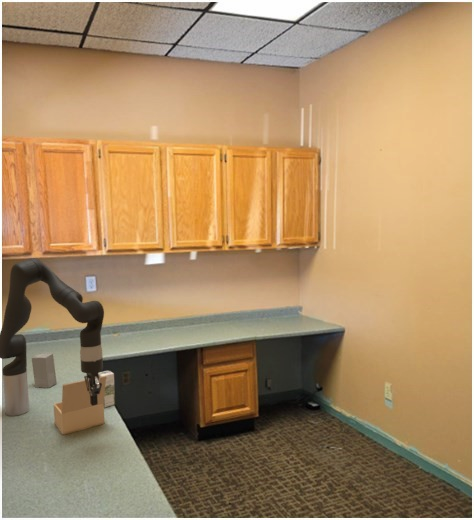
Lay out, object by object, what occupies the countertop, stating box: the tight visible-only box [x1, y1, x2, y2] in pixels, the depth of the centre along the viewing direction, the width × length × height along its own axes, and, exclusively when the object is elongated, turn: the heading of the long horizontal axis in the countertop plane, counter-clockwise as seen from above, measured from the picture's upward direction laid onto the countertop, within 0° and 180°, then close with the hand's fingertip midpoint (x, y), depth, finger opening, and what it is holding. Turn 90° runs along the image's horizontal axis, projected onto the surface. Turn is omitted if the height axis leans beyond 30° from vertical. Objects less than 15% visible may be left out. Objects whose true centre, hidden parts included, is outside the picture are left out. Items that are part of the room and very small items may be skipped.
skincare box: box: [31, 353, 57, 389], centre depth 228 cm, size 8×7×16 cm
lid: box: [61, 376, 106, 414], centre depth 175 cm, size 13×16×1 cm
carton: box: [53, 401, 106, 435], centre depth 183 cm, size 13×16×8 cm
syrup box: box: [98, 370, 116, 409], centre depth 201 cm, size 6×6×14 cm
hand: (94, 404), depth 165 cm, fingers closed
